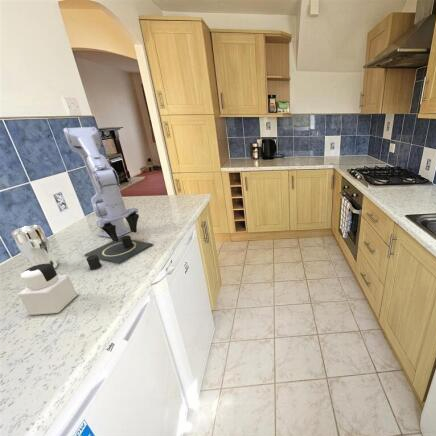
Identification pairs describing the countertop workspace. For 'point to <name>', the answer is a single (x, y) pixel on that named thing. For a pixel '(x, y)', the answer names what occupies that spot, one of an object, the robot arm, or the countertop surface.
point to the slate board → (118, 251)
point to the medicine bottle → (46, 290)
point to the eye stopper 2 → (127, 241)
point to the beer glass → (33, 245)
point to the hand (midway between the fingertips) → (125, 236)
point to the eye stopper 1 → (93, 262)
